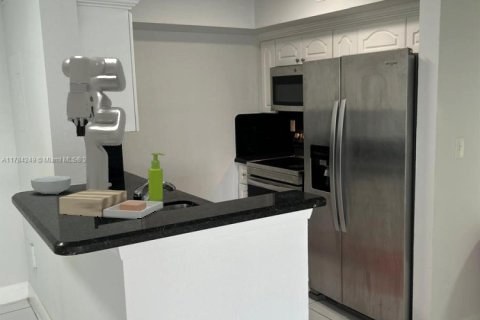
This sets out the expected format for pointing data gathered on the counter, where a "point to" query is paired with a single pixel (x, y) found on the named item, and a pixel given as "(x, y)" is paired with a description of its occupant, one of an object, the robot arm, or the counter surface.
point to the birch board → (90, 202)
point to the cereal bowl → (51, 184)
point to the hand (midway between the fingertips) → (80, 136)
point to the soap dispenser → (156, 180)
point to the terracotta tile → (133, 206)
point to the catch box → (118, 213)
